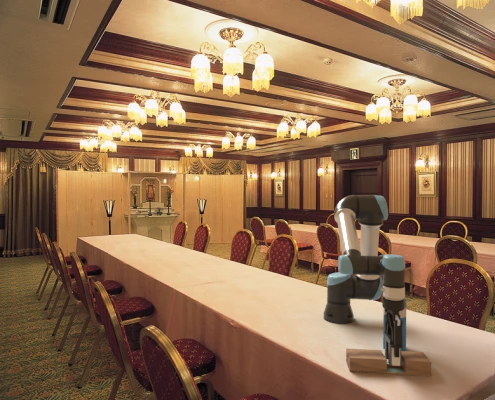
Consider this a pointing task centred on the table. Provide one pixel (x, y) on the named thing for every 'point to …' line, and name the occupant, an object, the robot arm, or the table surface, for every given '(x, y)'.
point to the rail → (378, 363)
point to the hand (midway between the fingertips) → (392, 360)
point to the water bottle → (403, 318)
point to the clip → (389, 348)
